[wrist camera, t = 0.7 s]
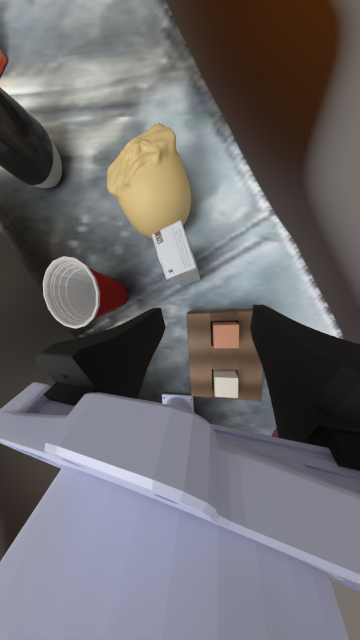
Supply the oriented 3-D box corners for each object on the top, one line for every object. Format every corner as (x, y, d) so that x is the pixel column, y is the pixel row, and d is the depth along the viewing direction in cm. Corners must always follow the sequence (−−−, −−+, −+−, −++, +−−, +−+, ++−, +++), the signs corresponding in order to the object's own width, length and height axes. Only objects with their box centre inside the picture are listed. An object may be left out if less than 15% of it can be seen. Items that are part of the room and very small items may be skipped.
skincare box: (201, 279, 28) (200, 269, 16) (181, 286, 29) (166, 282, 17) (192, 250, 27) (183, 216, 15) (171, 258, 28) (149, 233, 16)
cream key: (233, 385, 29) (237, 398, 25) (213, 384, 29) (215, 396, 26) (233, 367, 28) (238, 378, 24) (213, 367, 28) (214, 377, 25)
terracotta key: (234, 341, 27) (238, 348, 23) (212, 341, 27) (214, 348, 24) (234, 320, 26) (239, 324, 23) (212, 321, 27) (213, 325, 23)
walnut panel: (253, 387, 30) (261, 400, 27) (192, 383, 33) (191, 396, 29) (256, 308, 27) (265, 310, 23) (188, 311, 30) (186, 314, 26)
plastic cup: (100, 263, 31) (39, 245, 19) (143, 279, 30) (105, 269, 18) (92, 307, 33) (33, 314, 22) (131, 322, 33) (91, 339, 21)
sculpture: (174, 163, 25) (154, 69, 14) (202, 225, 26) (202, 179, 16) (126, 202, 28) (79, 146, 17) (153, 256, 29) (125, 235, 18)
